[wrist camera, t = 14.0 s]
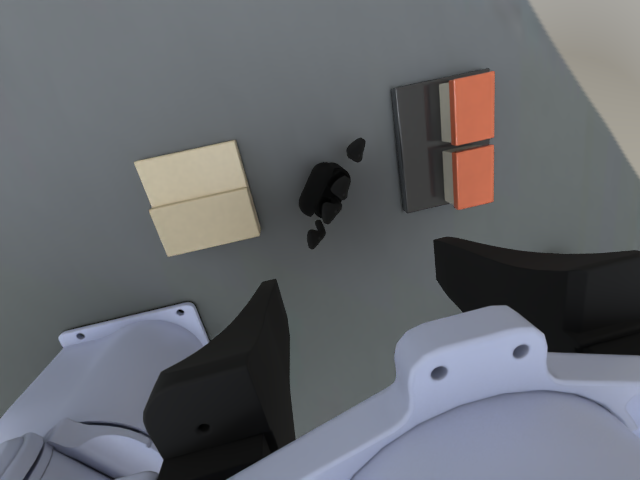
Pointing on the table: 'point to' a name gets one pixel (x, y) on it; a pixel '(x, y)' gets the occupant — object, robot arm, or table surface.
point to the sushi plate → (446, 141)
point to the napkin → (199, 198)
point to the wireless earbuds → (327, 191)
